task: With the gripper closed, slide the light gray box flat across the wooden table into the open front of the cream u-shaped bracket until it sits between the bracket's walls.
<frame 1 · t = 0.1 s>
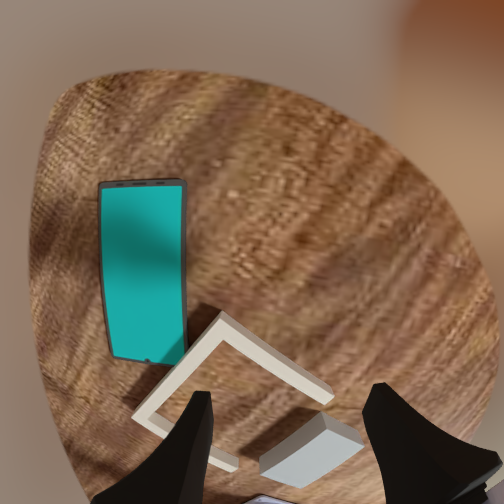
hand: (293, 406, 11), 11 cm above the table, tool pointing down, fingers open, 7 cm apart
smartphone: (143, 276, 21), on the table
light gray box: (308, 443, 24), on the table
cream u-shaped bracket: (232, 407, 22), on the table
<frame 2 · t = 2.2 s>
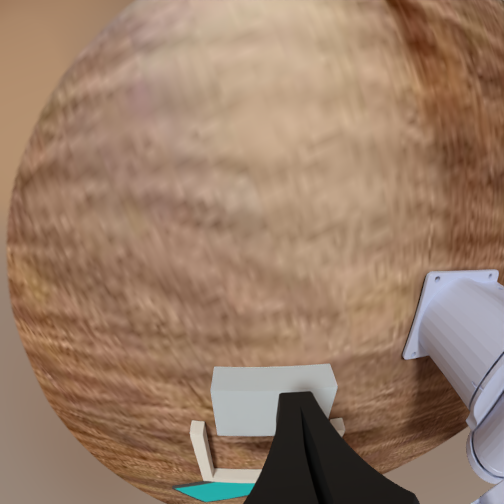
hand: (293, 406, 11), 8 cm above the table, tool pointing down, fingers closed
smartphone: (225, 485, 29), on the table
light gray box: (271, 389, 21), on the table
cream u-shaped bracket: (265, 449, 24), on the table
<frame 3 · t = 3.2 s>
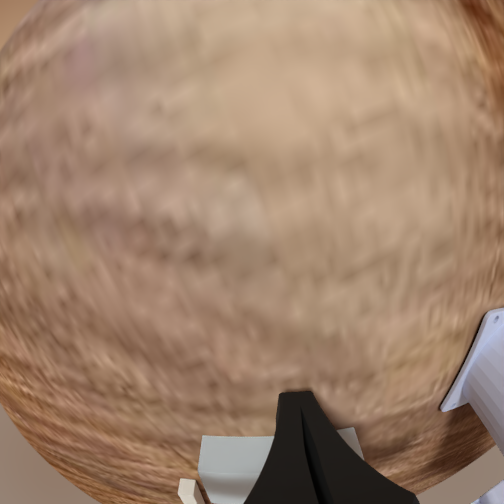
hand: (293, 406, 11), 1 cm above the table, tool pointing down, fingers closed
light gray box: (277, 454, 15), on the table
cream u-shaped bracket: (268, 501, 17), on the table
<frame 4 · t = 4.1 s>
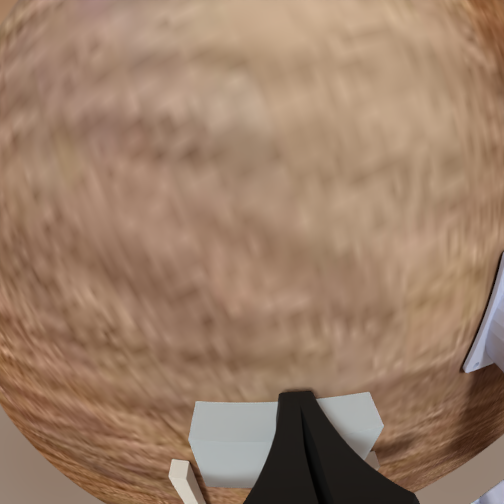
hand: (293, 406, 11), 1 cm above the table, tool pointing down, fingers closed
light gray box: (281, 426, 14), on the table, touching gripper
cream u-shaped bracket: (271, 489, 16), on the table
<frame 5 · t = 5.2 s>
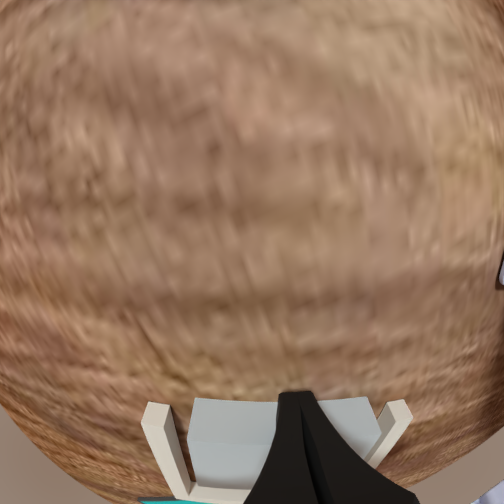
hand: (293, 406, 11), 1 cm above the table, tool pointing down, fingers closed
smartphone: (209, 502, 19), on the table
light gray box: (277, 429, 14), on the table
cream u-shaped bracket: (273, 458, 14), on the table
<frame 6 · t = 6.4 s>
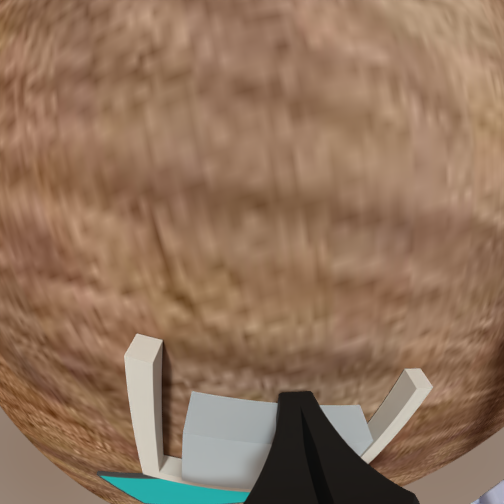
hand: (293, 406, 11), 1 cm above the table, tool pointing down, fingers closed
smartphone: (178, 485, 17), on the table
light gray box: (267, 429, 14), on the table
cream u-shaped bracket: (269, 430, 13), on the table
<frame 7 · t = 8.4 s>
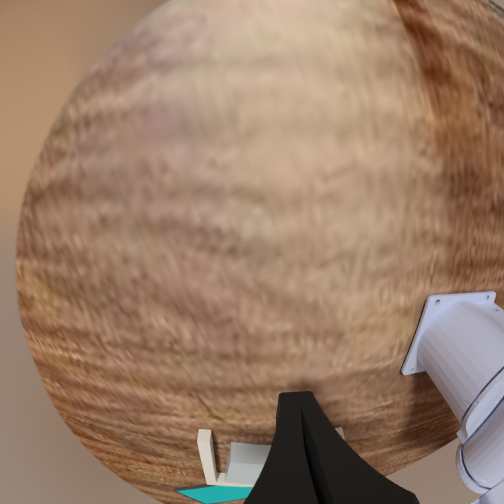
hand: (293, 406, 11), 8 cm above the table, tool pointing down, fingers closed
smartphone: (226, 488, 29), on the table
light gray box: (268, 455, 25), on the table
cream u-shaped bracket: (267, 456, 25), on the table
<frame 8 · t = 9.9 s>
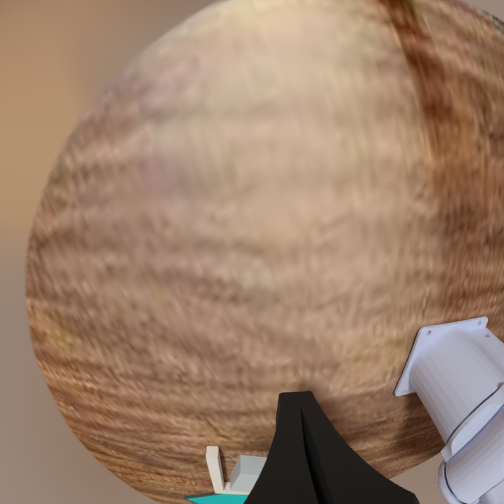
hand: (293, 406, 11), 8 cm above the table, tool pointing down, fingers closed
smartphone: (233, 495, 30), on the table
light gray box: (271, 466, 26), on the table
cream u-shaped bracket: (271, 467, 26), on the table
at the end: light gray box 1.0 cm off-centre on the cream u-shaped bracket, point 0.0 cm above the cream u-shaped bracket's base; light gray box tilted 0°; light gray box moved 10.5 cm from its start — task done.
